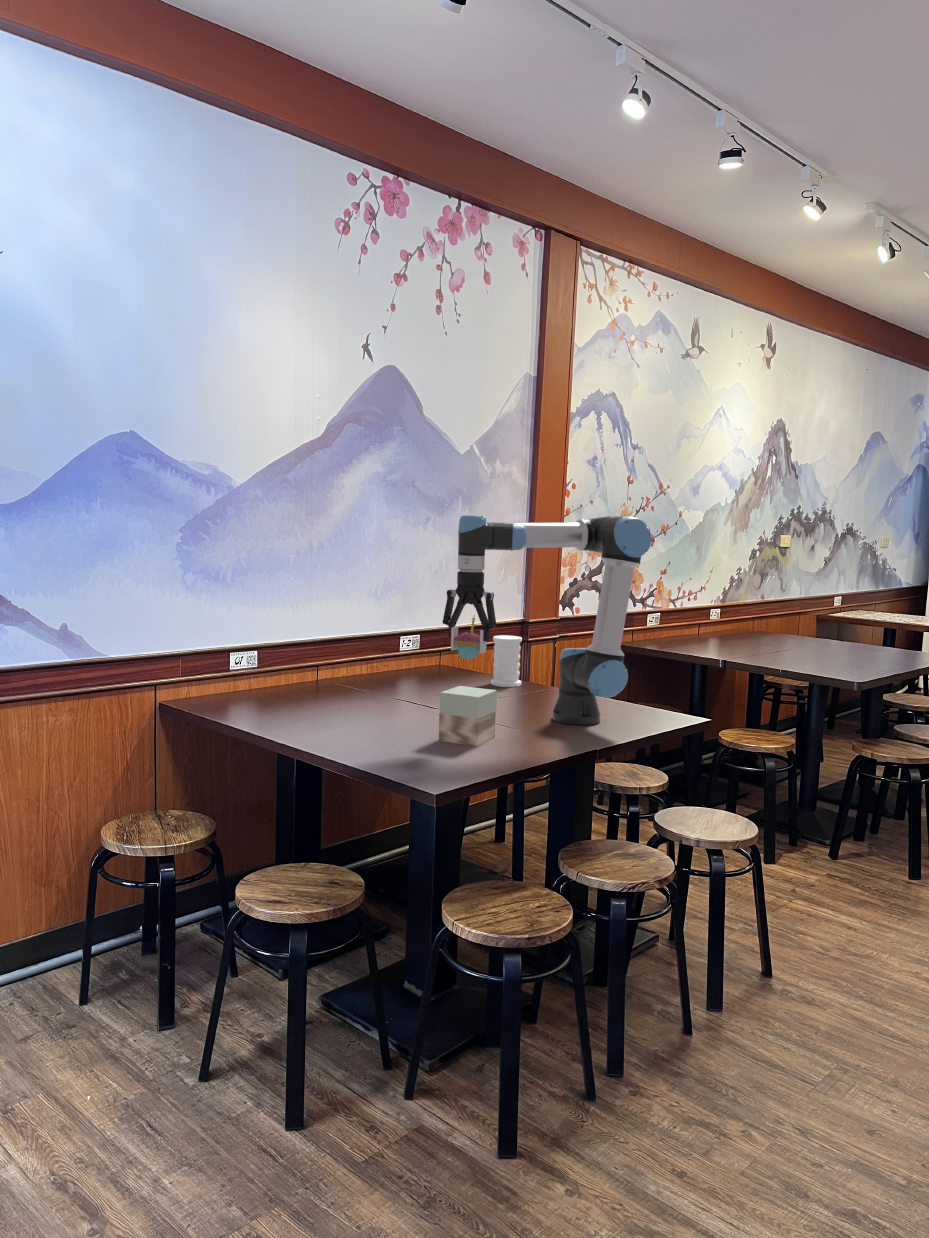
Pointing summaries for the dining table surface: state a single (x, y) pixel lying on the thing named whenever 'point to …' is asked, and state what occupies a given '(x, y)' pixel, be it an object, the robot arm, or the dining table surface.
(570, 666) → the robot arm
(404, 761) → the dining table surface
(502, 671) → the decorative container
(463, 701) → the tower top
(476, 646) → the cupcake
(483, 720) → the tower base
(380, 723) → the dining table surface
